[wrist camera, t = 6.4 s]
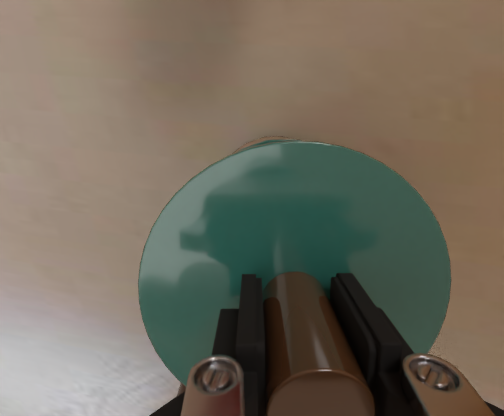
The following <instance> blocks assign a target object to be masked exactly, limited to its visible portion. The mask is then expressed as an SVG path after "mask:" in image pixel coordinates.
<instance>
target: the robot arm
mask: <svg viewBox="0 0 504 416" xmlns="http://www.w3.org/2000/svg"><path fill="white" fill-rule="evenodd" d="M330 303H331V305H332V307H333V309H334V311H335V314H336V316H337V318H338V320H339V322H340V325H341V327H342V329H343V331H344V333H345V336H346V338H347V340H348V342H349V344H350V346H351V349H352V351H353V353H354V355H355V357H356V360H357V362H358V364H359V366H360V368H361V371H362V373H363V375H364V377H365V379H366V382H367V384H368V386H369V388H370V390H371V393H372V395H373V397H374V400H375V405H376V416H504V410H502V409H500V408H498V407H496V406H494V405H492V404H490V403H488V402H486V401H484V400H483V399H482V398H481V397H480V396H479V394H478V393H477V392H476V390H475V389H474V388H473V387H472V385H471V384H470V383H469V382H468V380H467V379H466V378H465V376H464V375H463V374H462V373H461V372H460V371H459V370H458V369H457V368H456V367H455V366H453V365H452V364H450V363H449V362H447V361H445V360H443V359H441V358H439V357H437V356H433V355H430V354H424V353H414V352H413V350H412V349H411V348H410V346H409V345H408V344H407V342H406V341H405V340H404V338H403V337H402V336H401V334H400V333H399V331H398V330H397V329H396V327H395V326H394V325H393V323H392V322H391V321H390V319H389V318H388V316H387V315H386V314H385V312H384V311H383V310H382V309H381V308H379V307H376V305H375V304H374V303H373V301H372V300H371V298H370V297H369V296H368V294H367V293H366V291H365V290H364V289H363V287H362V286H361V284H360V283H359V282H358V280H357V279H356V277H355V276H354V275H353V273H337V274H336V277H332V278H331V286H330ZM264 395H265V333H264V314H263V294H262V278H256V274H242V280H241V291H240V303H239V309H221V310H220V314H219V319H218V324H217V330H216V335H215V340H214V345H213V350H212V355H211V356H208V357H205V358H203V359H201V360H200V361H198V362H197V363H196V364H195V365H194V366H193V367H192V368H191V370H190V373H189V375H188V380H187V385H186V391H184V392H183V393H181V394H180V395H178V396H177V397H176V398H174V399H173V400H171V401H170V402H168V403H167V404H165V405H164V406H163V407H161V408H160V409H158V410H157V411H155V412H154V413H152V414H151V415H149V416H265V397H264Z"/></svg>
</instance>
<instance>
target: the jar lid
mask: <svg viewBox="0 0 504 416" xmlns="http://www.w3.org/2000/svg"><path fill="white" fill-rule="evenodd" d="M337 273H353V275H354V276H355V277H356V279H357V280H358V282H359V283H360V284H361V286H362V287H363V289H364V290H365V291H366V293H367V294H368V296H369V297H370V298H371V300H372V301H373V303H374V304H375V305H376V307H379V308H381V309H382V310H383V311H384V312H385V314H386V315H387V316H388V318H389V319H390V321H391V322H392V323H393V325H394V326H395V327H396V329H397V330H398V331H399V333H400V334H401V336H402V337H403V338H404V340H405V341H406V342H407V344H408V345H409V346H410V348H411V349H412V350H413V352H414V353H424V354H427V353H428V352H429V351H430V349H431V347H432V345H433V344H434V342H435V340H436V338H437V336H438V334H439V332H440V329H441V327H442V324H443V322H444V319H445V316H446V312H447V308H448V303H449V299H450V288H451V269H450V259H449V254H448V250H447V245H446V241H445V239H444V236H443V233H442V231H441V228H440V225H439V223H438V221H437V220H436V218H435V216H434V214H433V213H432V211H431V209H430V207H429V206H428V204H427V203H426V202H425V201H424V199H423V198H422V197H421V196H420V194H419V193H418V192H417V190H416V189H415V188H413V187H412V186H411V185H410V184H409V183H408V182H407V181H406V180H405V179H404V178H403V177H402V176H401V175H399V174H398V173H396V172H395V171H393V170H392V169H391V168H389V167H388V166H386V165H385V164H383V163H381V162H380V161H378V160H376V159H374V158H372V157H370V156H368V155H366V154H364V153H361V152H358V151H355V150H352V149H349V148H346V147H343V146H338V145H333V144H328V143H322V142H313V141H283V142H272V143H267V144H263V145H258V146H254V147H250V148H247V149H244V150H242V151H239V152H236V153H233V154H231V155H229V156H227V157H225V158H223V159H221V160H219V161H217V162H215V163H213V164H211V165H210V166H208V167H207V168H206V169H204V170H203V171H201V172H200V173H199V174H197V175H196V176H194V177H193V178H192V179H190V180H189V181H188V182H187V183H186V184H185V185H184V186H183V187H182V188H181V189H180V190H179V191H178V192H177V193H176V194H175V195H174V196H173V197H172V199H171V200H170V201H169V202H168V204H167V205H166V206H165V207H164V209H163V210H162V212H161V213H160V215H159V217H158V218H157V220H156V222H155V223H154V225H153V227H152V229H151V231H150V234H149V236H148V239H147V241H146V244H145V246H144V250H143V254H142V258H141V262H140V270H139V280H138V289H139V304H140V309H141V314H142V319H143V322H144V325H145V328H146V331H147V334H148V337H149V339H150V341H151V343H152V345H153V347H154V349H155V351H156V352H157V354H158V355H159V357H160V358H161V360H162V361H163V363H164V364H165V366H166V367H167V368H168V369H169V370H170V371H171V372H172V374H173V375H174V376H175V377H176V378H177V379H178V380H179V381H180V382H181V383H182V384H183V385H185V386H186V385H187V380H188V375H189V373H190V370H191V368H192V367H193V366H194V365H195V364H196V363H197V362H198V361H200V360H201V359H203V358H205V357H208V356H211V355H212V350H213V345H214V340H215V335H216V330H217V324H218V319H219V314H220V310H221V309H239V303H240V291H241V280H242V274H256V278H262V294H263V314H264V333H265V395H264V397H265V416H376V405H375V400H374V397H373V395H372V393H371V390H370V388H369V386H368V384H367V382H366V379H365V377H364V375H363V373H362V371H361V368H360V366H359V364H358V362H357V360H356V357H355V355H354V353H353V351H352V349H351V346H350V344H349V342H348V340H347V338H346V336H345V333H344V331H343V329H342V327H341V325H340V322H339V320H338V318H337V316H336V314H335V311H334V309H333V307H332V305H331V303H330V286H331V278H332V277H336V274H337Z"/></svg>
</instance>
